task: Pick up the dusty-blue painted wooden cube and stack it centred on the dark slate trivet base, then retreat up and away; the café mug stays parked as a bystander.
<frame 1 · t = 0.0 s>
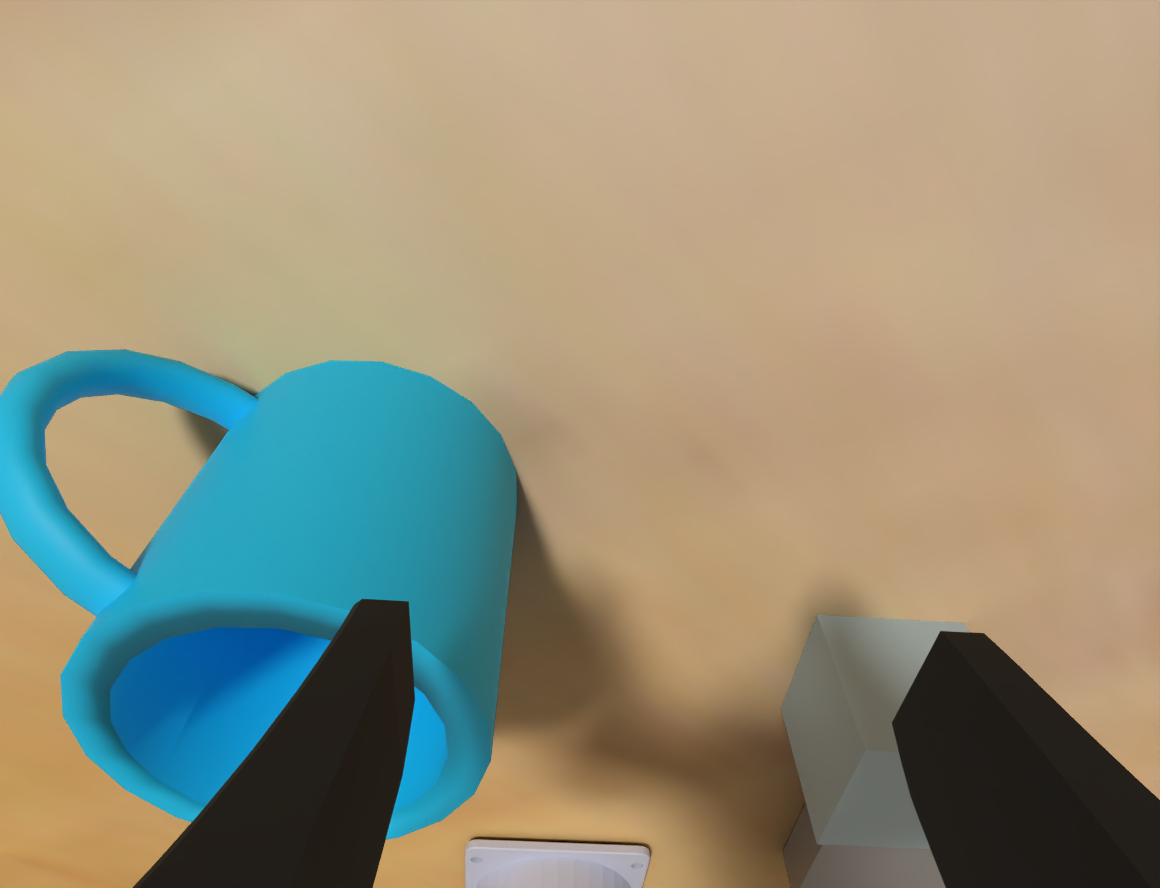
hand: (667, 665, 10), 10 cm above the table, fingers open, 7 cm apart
mug: (323, 441, 21), on the table
slate base: (915, 800, 31), on the table
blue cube: (867, 666, 26), on the table
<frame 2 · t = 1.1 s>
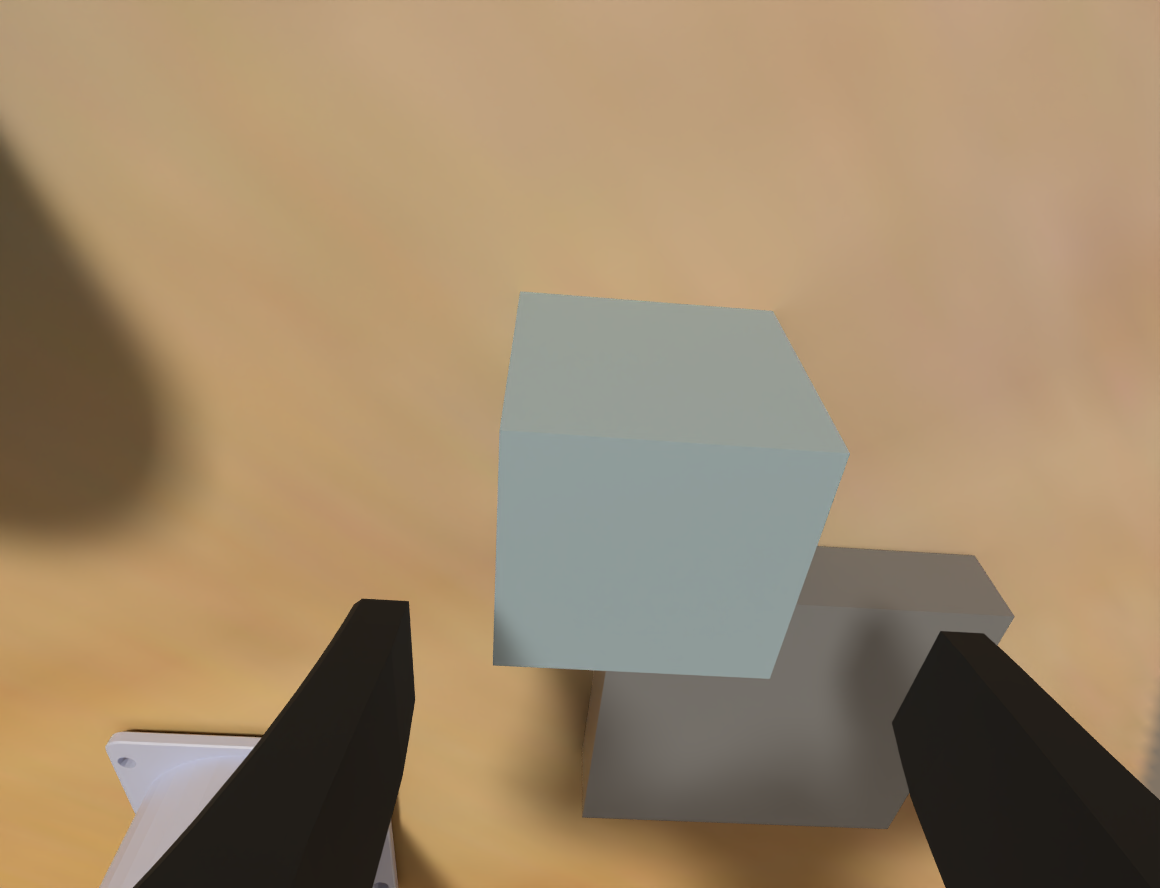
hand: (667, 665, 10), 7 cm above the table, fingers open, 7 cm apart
slate base: (756, 665, 21), on the table
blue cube: (631, 407, 16), on the table
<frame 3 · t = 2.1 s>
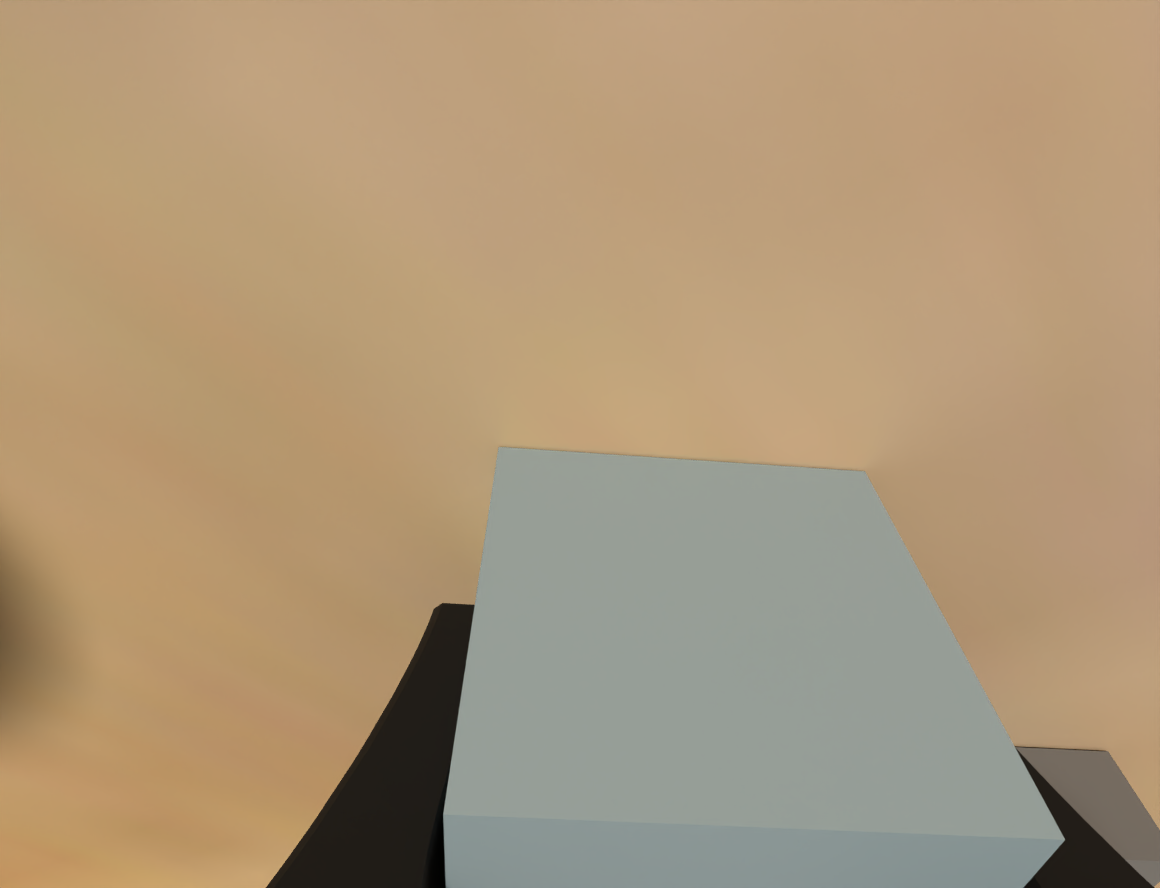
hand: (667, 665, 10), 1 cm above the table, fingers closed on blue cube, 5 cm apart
slate base: (809, 863, 16), on the table
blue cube: (657, 590, 11), on the table, touching gripper
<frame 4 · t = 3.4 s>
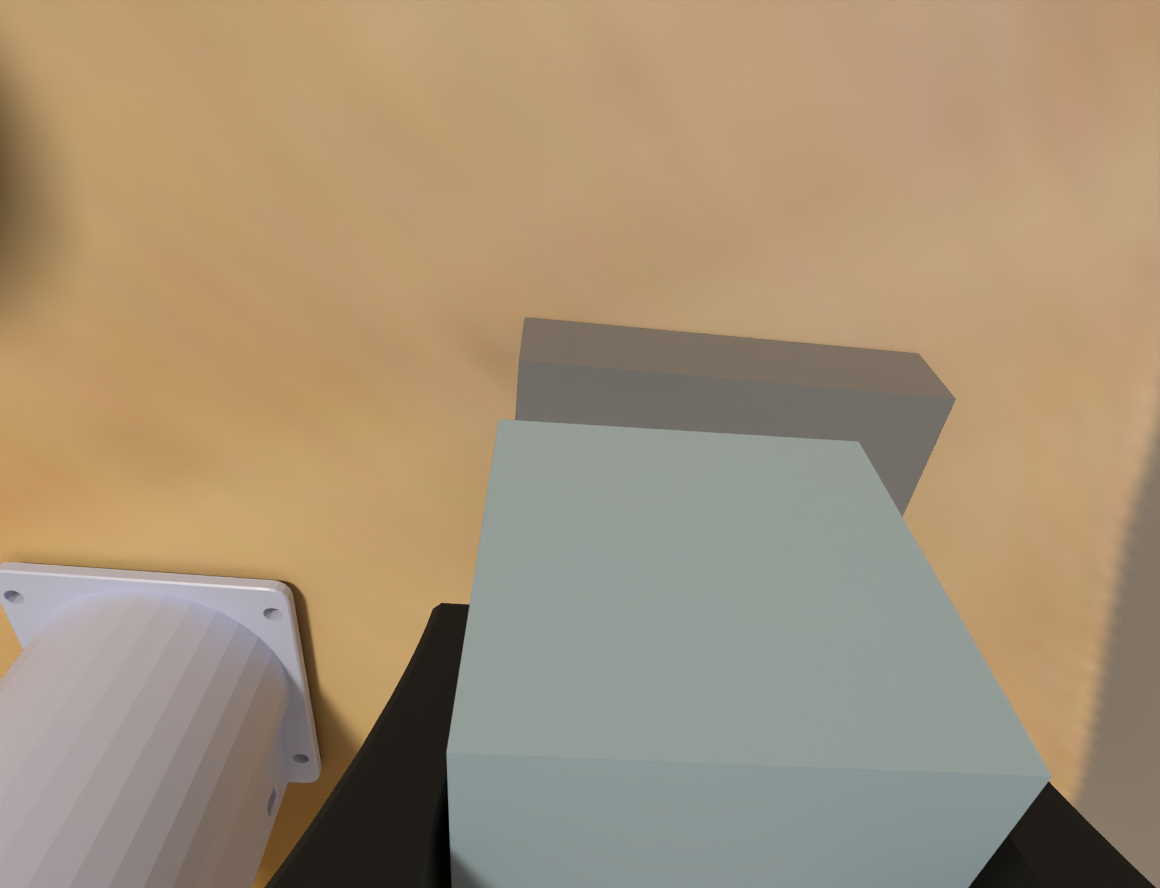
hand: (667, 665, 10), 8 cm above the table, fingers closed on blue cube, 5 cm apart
slate base: (688, 492, 19), on the table
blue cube: (656, 564, 12), point 7 cm above the table, touching gripper
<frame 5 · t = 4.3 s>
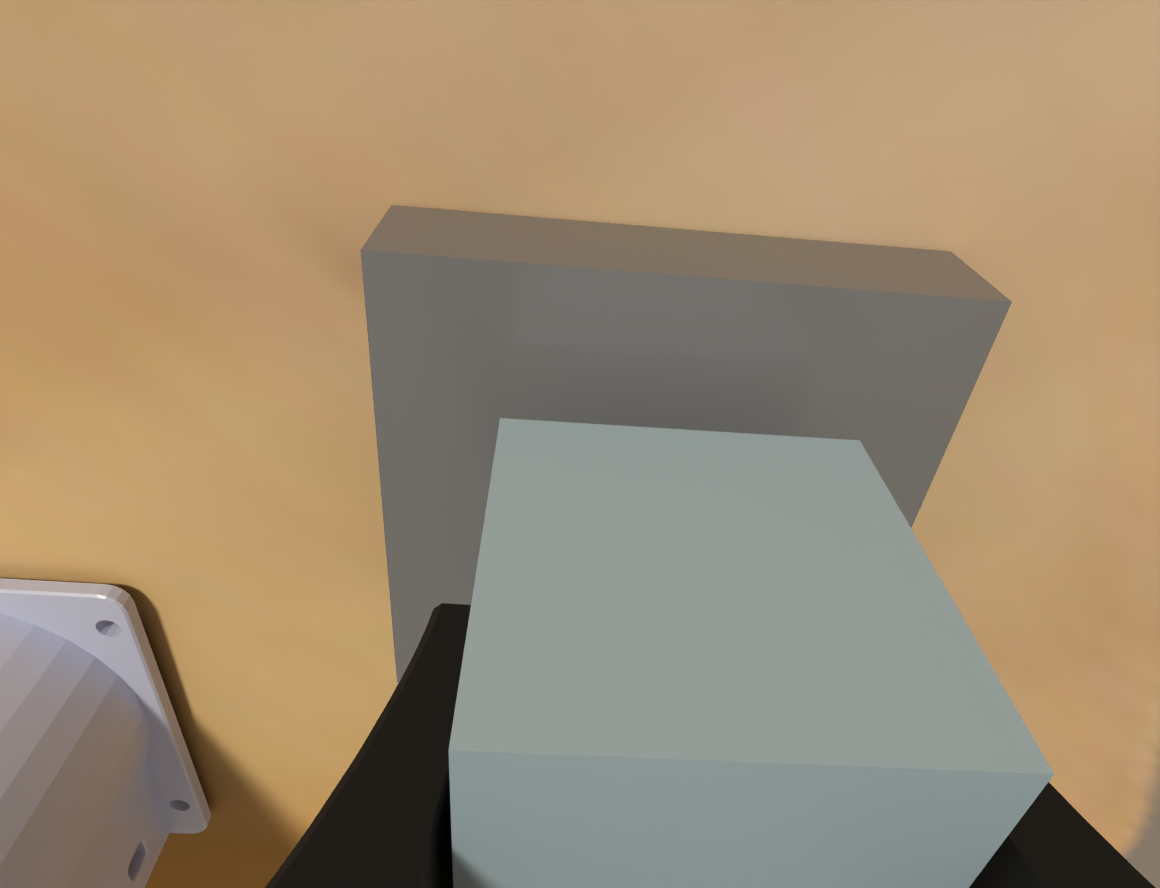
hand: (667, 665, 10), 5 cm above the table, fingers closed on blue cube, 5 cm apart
slate base: (640, 458, 14), on the table
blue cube: (657, 563, 12), point 3 cm above the table, touching gripper
when the fingers open (5 cm above the table, at t = 4.9 s): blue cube stays where it is, resting on slate base.
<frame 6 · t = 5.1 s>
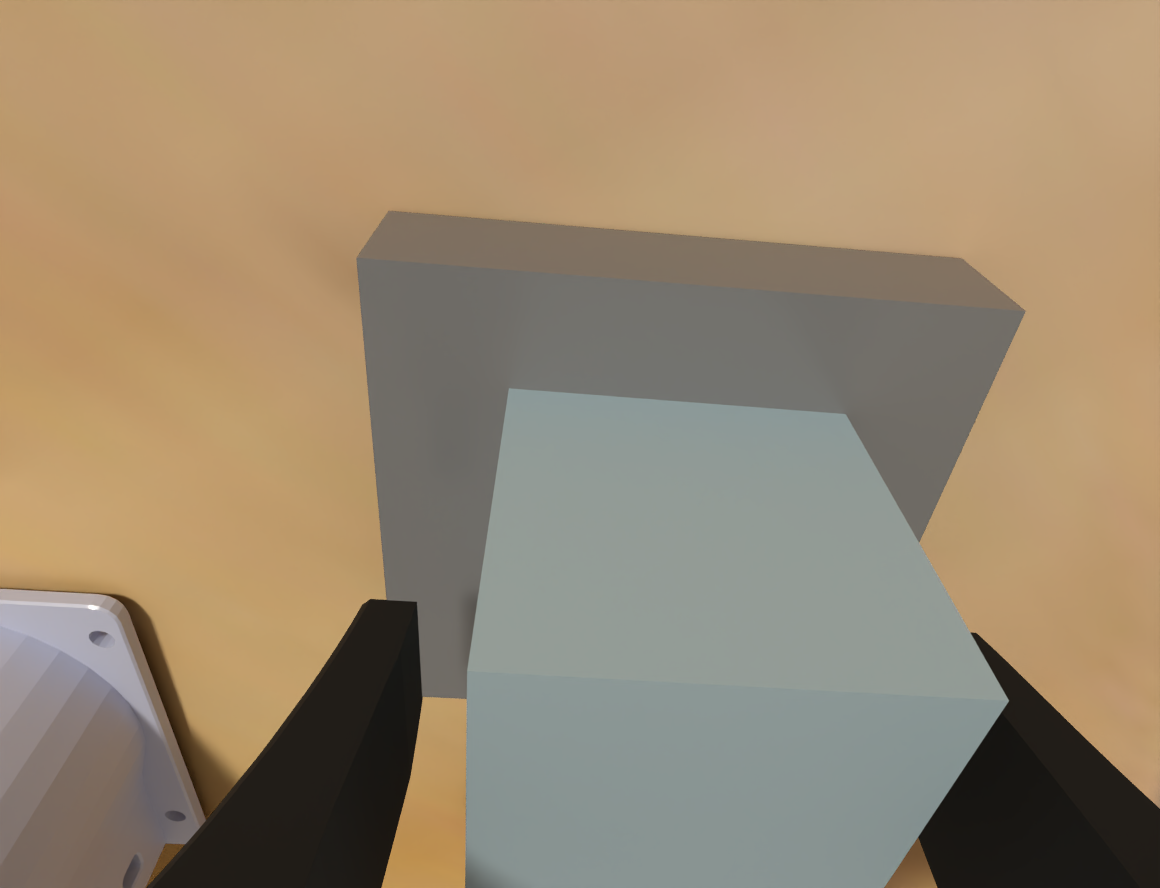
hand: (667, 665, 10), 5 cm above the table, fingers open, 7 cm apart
slate base: (642, 468, 14), on the table
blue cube: (654, 530, 12), point 2 cm above the table, touching slate base
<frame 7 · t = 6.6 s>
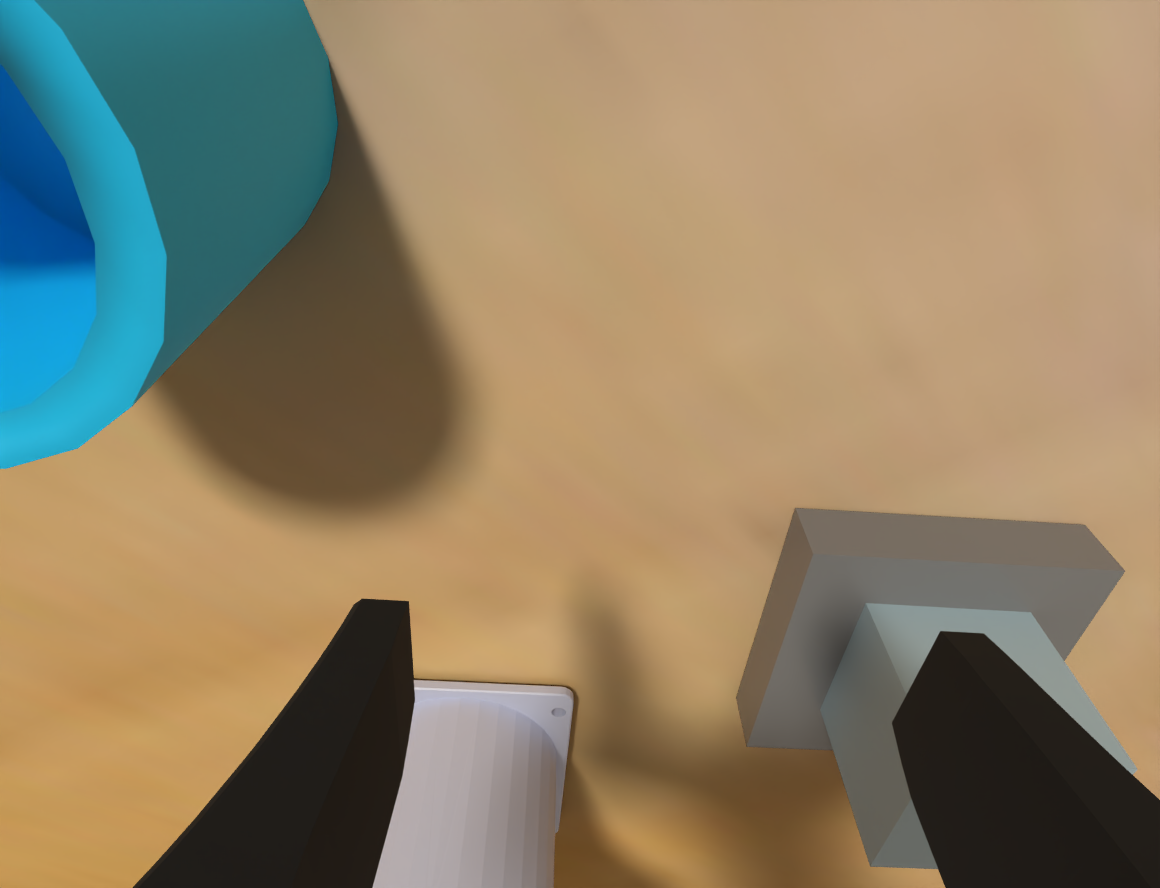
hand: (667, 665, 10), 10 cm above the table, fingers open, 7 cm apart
mug: (58, 10, 15), on the table
slate base: (894, 619, 25), on the table
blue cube: (919, 663, 23), point 2 cm above the table, touching slate base
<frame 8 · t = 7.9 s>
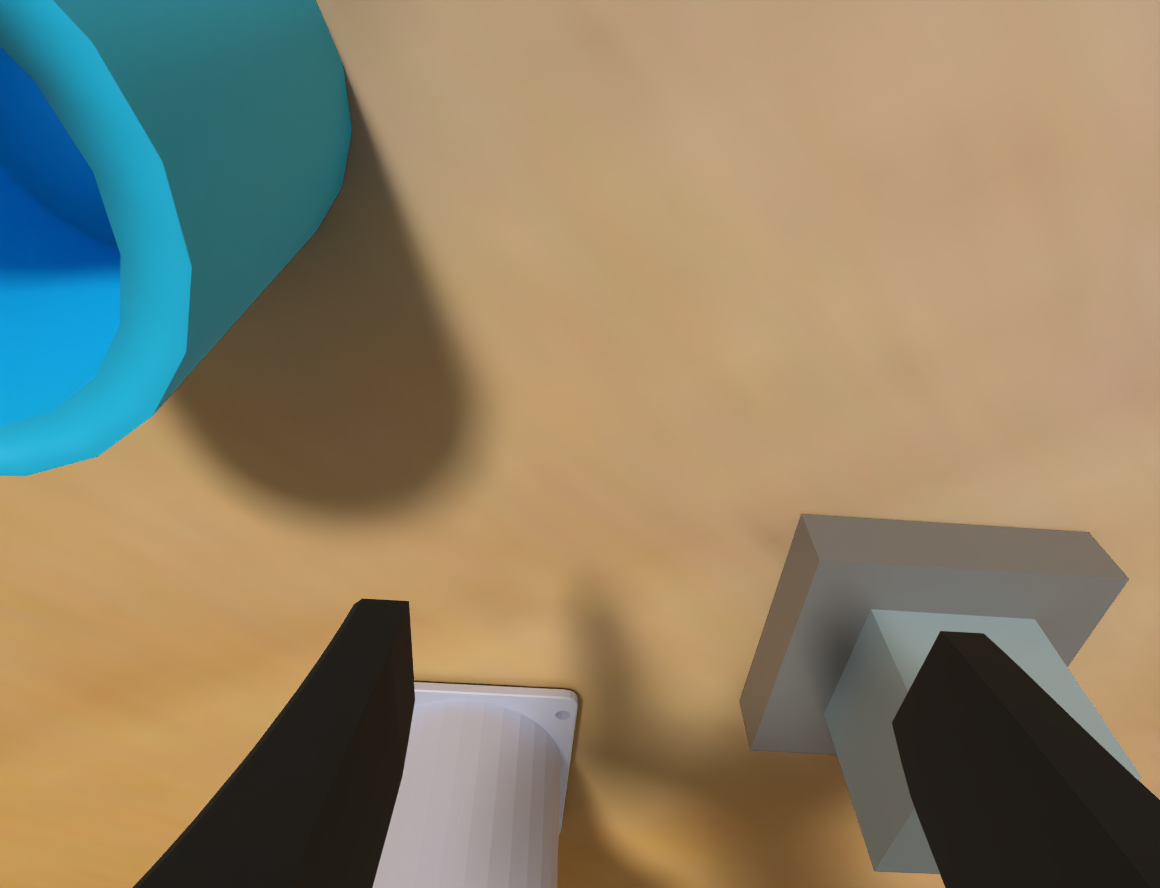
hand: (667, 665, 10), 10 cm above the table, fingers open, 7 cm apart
mug: (74, 15, 15), on the table
slate base: (898, 624, 25), on the table
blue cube: (923, 669, 23), point 2 cm above the table, touching slate base
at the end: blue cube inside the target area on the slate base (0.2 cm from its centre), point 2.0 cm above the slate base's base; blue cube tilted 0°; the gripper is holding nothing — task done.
